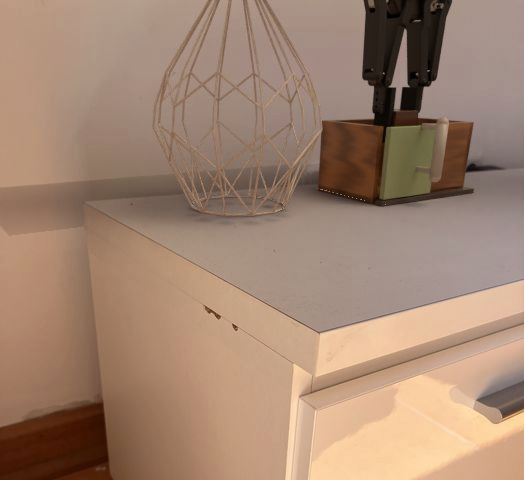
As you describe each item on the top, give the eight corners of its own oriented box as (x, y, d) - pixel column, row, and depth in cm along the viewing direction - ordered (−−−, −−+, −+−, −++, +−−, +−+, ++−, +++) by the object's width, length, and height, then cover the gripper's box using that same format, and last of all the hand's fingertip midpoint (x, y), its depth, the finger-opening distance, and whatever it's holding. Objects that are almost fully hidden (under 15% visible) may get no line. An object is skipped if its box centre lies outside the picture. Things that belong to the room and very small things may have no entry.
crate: (473, 192, 79) (485, 123, 75) (381, 206, 70) (390, 127, 66) (406, 179, 88) (413, 116, 84) (317, 190, 79) (321, 120, 75)
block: (414, 142, 77) (418, 110, 75) (392, 144, 75) (396, 111, 73) (392, 139, 80) (395, 108, 78) (371, 141, 78) (374, 109, 76)
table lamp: (195, 239, 55) (173, -362, 37) (115, 198, 72) (74, -229, 54) (369, 214, 66) (415, -259, 48) (264, 184, 83) (270, -175, 65)
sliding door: (452, 198, 71) (465, 116, 67) (405, 205, 67) (416, 118, 63) (425, 192, 75) (435, 114, 70) (379, 198, 70) (387, 116, 66)
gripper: (439, -57, 74) (416, 134, 84) (340, -77, 65) (327, 140, 75) (489, -67, 68) (457, 139, 78) (387, -90, 60) (366, 146, 70)
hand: (393, 139), depth 77 cm, fingers closed on block, 4 cm apart
